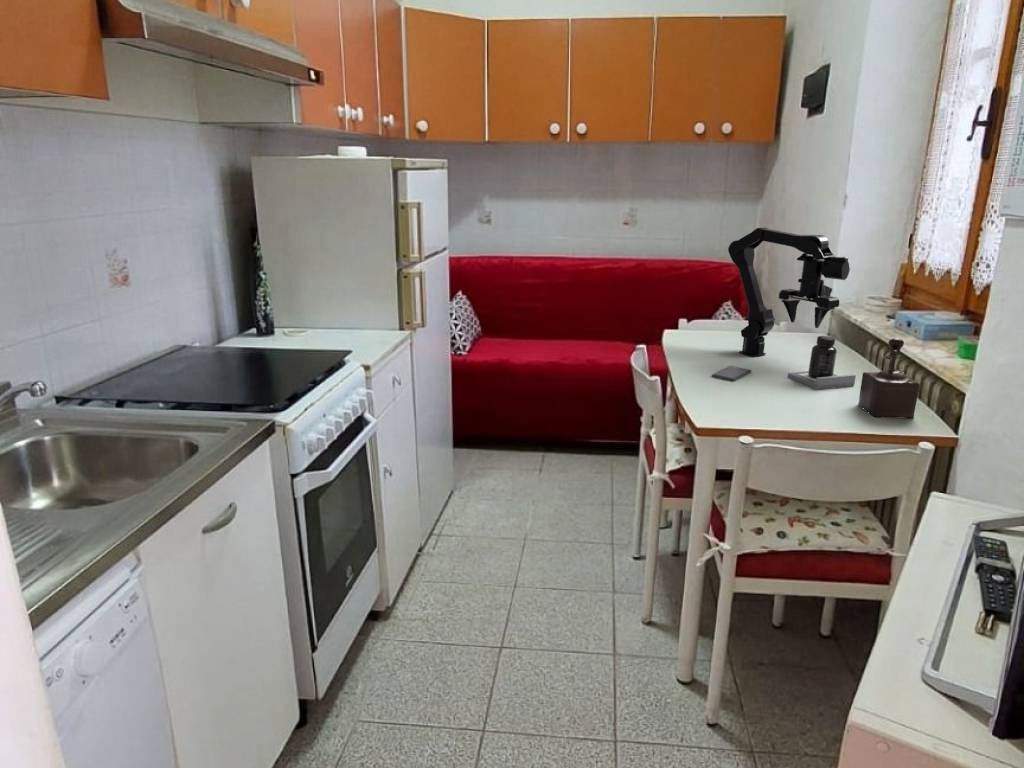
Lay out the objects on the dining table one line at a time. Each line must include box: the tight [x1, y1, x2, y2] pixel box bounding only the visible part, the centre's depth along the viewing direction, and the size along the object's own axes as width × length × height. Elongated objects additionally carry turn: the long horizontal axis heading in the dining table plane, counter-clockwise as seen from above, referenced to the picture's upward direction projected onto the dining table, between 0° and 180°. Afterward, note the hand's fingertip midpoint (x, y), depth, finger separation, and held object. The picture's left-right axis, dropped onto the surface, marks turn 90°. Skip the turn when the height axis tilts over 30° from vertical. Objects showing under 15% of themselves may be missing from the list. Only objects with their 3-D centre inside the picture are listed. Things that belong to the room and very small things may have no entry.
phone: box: [711, 365, 753, 382], centre depth 216 cm, size 7×13×1 cm, turn 139°
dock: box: [787, 370, 857, 390], centre depth 210 cm, size 13×13×3 cm
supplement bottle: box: [808, 335, 838, 379], centre depth 209 cm, size 7×7×12 cm
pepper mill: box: [858, 337, 920, 419], centre depth 185 cm, size 16×11×18 cm
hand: (804, 325), depth 225 cm, fingers open, 9 cm apart
